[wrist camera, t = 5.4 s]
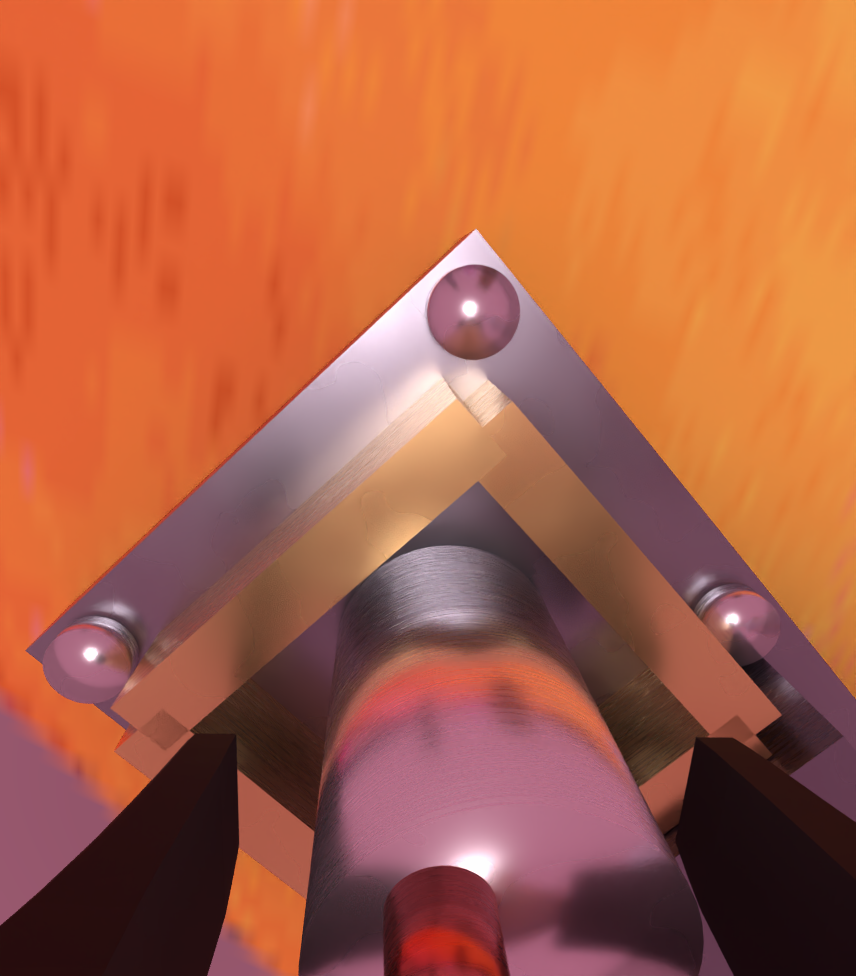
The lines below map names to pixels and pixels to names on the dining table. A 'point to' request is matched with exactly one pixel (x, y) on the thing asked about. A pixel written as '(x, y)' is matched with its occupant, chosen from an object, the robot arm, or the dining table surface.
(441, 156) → the dining table surface
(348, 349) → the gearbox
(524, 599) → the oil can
